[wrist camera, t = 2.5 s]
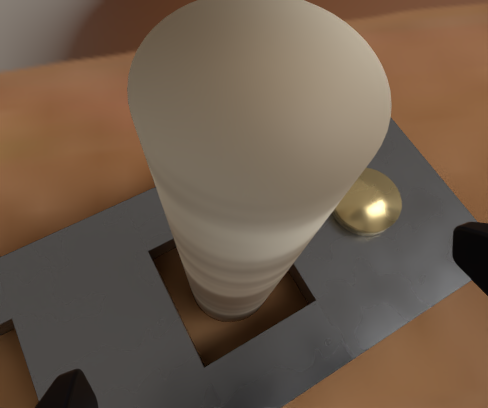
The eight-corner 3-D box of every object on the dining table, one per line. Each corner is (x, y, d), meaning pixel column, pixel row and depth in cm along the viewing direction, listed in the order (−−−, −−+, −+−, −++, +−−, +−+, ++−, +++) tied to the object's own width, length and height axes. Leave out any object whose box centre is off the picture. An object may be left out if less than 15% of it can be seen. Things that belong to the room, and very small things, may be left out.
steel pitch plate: (360, 106, 25) (373, 81, 22) (487, 263, 21) (517, 252, 19) (-171, 351, 17) (-226, 349, 15) (-122, 667, 13) (-186, 725, 11)
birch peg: (250, 335, 18) (347, 252, 5) (177, 301, 19) (72, 133, 5) (279, 263, 20) (417, 41, 6) (211, 233, 20) (201, -37, 7)
